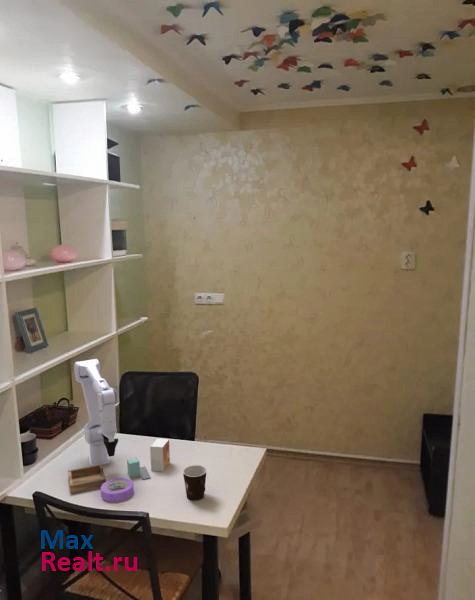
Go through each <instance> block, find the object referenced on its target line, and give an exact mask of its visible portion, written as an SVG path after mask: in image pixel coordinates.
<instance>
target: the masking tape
mask: <svg viewBox="0 0 475 600" xmlns="http://www.w3.org/2000/svg"><path fill="white" fill-rule="evenodd" d="M119 488H121V489H119ZM114 489H119V490H114ZM100 494H101V496H100V497H101V499H102V500H103V501H106V502H110V503H116V502H117V503H118V502H123V501H126V500H128V499H129V498H130V497H132V496H133V494H134V482H133V481H132V480H131V478H127V477H116V478H111V479H109V480H106V482H105V483H103V484H102V486H101V488H100Z"/></svg>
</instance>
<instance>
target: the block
mask: <svg viewBox="0 0 475 600" xmlns="http://www.w3.org/2000/svg"><path fill="white" fill-rule="evenodd" d="M126 463H127V475H128V476H129V479H133V478H135V477H136V478H137V477H141V476H140V467H141V466H140V460H139V458H138V457H133V458H128V459H127V460H126Z"/></svg>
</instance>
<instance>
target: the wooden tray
mask: <svg viewBox="0 0 475 600" xmlns="http://www.w3.org/2000/svg"><path fill="white" fill-rule="evenodd" d="M67 473H68V483H69V490H70V491H69V492H70V494H71V495H72V494H76V493H83V492H87V491H92V490H96V489H97V490H98V489H101V486H102V484H103V483H105V482H106V481H107V477H106V474H104V468H103V464H100V465H95V466H85V467H79V468H74V469H68V472H67Z"/></svg>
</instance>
